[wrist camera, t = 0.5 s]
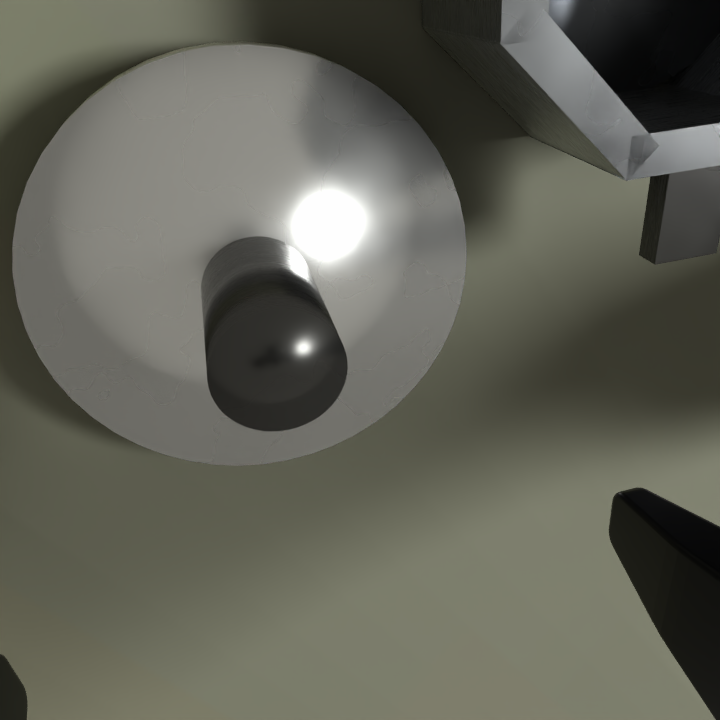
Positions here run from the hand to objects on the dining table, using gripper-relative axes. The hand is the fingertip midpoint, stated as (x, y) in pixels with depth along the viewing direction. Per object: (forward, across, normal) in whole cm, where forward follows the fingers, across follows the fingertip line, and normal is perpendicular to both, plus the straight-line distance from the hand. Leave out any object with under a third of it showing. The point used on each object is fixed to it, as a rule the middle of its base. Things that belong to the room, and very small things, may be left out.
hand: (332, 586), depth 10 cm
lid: (+12, 0, 0) cm, 12 cm away
